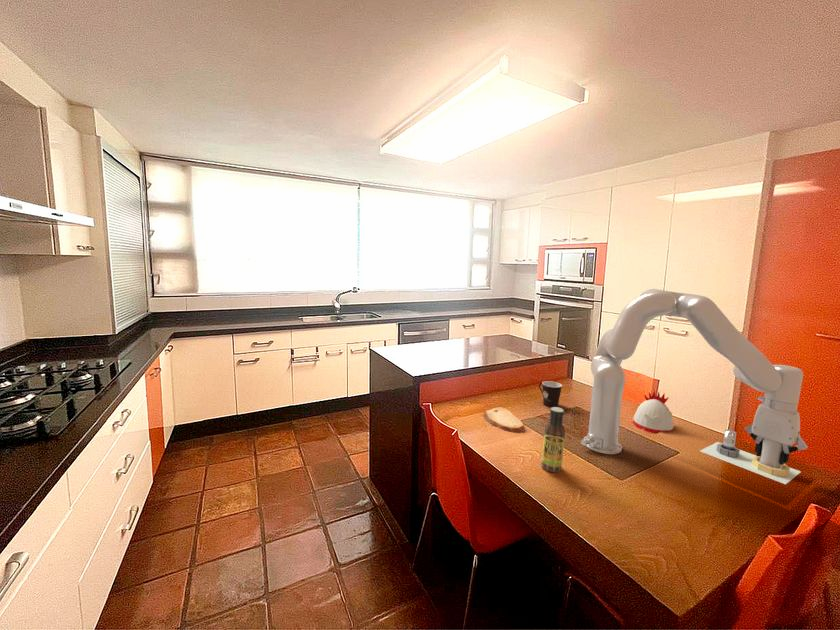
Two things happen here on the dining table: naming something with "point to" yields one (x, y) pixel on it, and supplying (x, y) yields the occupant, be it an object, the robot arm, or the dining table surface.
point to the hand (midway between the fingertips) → (770, 458)
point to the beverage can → (771, 453)
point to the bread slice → (504, 419)
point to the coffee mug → (551, 393)
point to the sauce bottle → (553, 441)
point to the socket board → (751, 463)
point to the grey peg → (729, 440)
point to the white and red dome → (654, 415)
